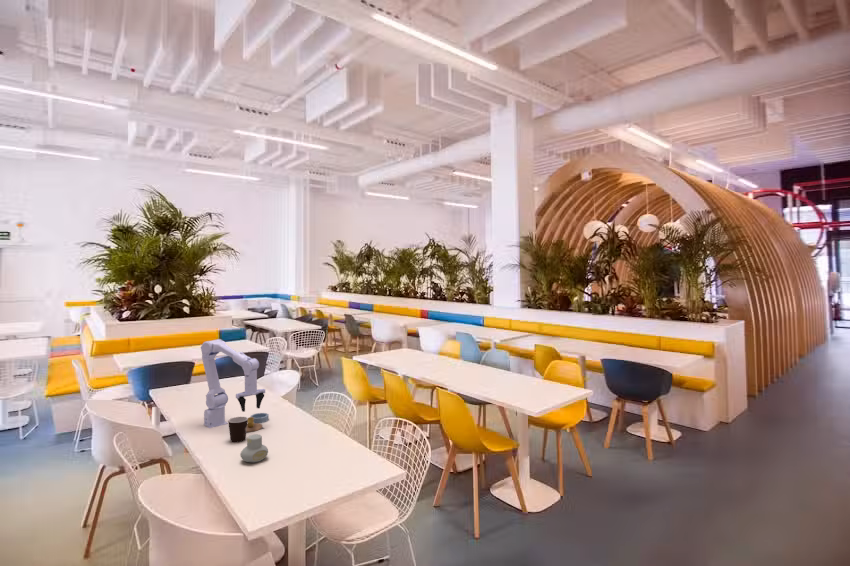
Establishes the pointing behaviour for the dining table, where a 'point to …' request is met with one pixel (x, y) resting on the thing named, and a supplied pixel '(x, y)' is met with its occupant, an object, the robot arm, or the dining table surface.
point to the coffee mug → (238, 428)
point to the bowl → (260, 417)
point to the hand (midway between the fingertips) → (250, 409)
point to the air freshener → (254, 449)
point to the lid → (253, 425)
